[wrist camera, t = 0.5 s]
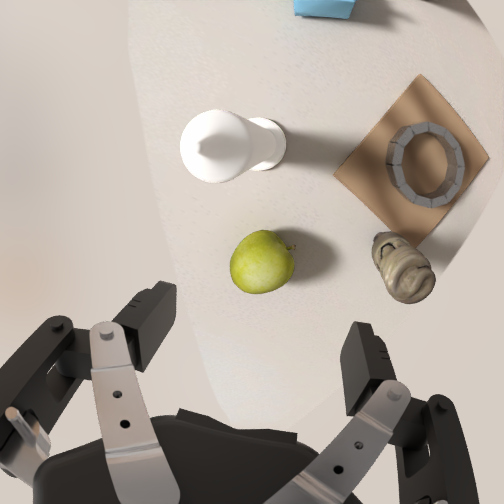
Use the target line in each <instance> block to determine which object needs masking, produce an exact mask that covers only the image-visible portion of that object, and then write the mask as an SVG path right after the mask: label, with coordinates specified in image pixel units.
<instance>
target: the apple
mask: <svg viewBox="0 0 504 504" xmlns="http://www.w3.org/2000/svg"><path fill="white" fill-rule="evenodd" d="M290 249H295V245H292V246H290V247H286V245H285V244H284V242H283V241H282V240H281V239H280V238H279V237H278V236H277V235H276V234H275V233H274V232H272V231H268V230H260V231H256V232H254V233H252V234H250V235H248V236H247V237H246V238H244V239H243V240H242V241H241V243H240V244H239V245H238V246H237V248H236V249H235V251H234V253H233V255H232V257H231V261H230V274H231V277H232V280H233V282H234V284H235V285H237V286H238V288H240V289H241V290H242V291H244V292H247V293H250V294H263V293H267V292H271V291H274V290H276V289H278V288H280V287H282V286H283V285H284V284H285V283H286V282H287V281H288V280H289V279H290V277H291V276H292V274H293V271H294V259H293V257H292V256H291V254H290V253H289V251H288V250H290Z"/></svg>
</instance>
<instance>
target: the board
mask: <svg viewBox="0 0 504 504" xmlns="http://www.w3.org/2000/svg"><path fill="white" fill-rule="evenodd" d="M427 121H428V122H432V123H434V124H437V125H439V126H442V127H444V128H446V129H448V131H449V132H450V133H451V134H452V136H453V137H454V138H455V139H456V141H457V142H458V143H459V144H460V145H459V146H460V147H461V151H462V155H463V159H464V164H465V166H463V167H465V170H464V175H463V180H462V185H461V186H459V187H460V189H459V190H458V192H457V193H456V194H455V196H454V197H453V198H452V199H451V201H450V202H448V203H447V204H444V205H441V206H438V207H435V208H431V209H430V208H427V207H423V206H420V205H416V204H413V203H411V202H410V201H408V200H406V199H405V198H404V197H403V196H402V195H401V194H400V193H399V192H398V191H397V190H396V189H395V188H394V187H393V186H392V184H391V182H390V179H389V175H388V172H387V169H386V165H385V164H387V163H385V160H386V154H387V148H388V143H390V142H389V141H390V140H391V139H392V137H393V136H394V135H395V134H396V133H397V131H398V130H399V129H400V128H401V127H403V126H406V125H410V124H414V123H418V122H427ZM488 158H489V157H488V155H487V154H486V152H485V151H484V149H483V148H482V146H481V145H480V143H479V142H478V141H477V139H476V138H475V136H474V135H473V134H472V132H471V131H470V130H469V128H468V127H467V126H466V124H465V123H464V122H463V121H462V119H461V118H460V117H459V116H458V114H457V113H456V112H455V111H454V109H453V108H452V107H451V106H450V105H449V104H448V102H447V101H446V100H445V99H444V98H443V97H442V96H441V94H440V93H439V92H438V91H437V90H436V89H435V88H434V87H433V86H432V85H431V84H430V83H429V82H428V81H427V80H426V79H425V78H424V77H423V76H422V75H421V74H419V75H418V76H417V77H416V78H415V79H414V80H413V82H412V83H411V84H410V85H409V86H408V88H407V89H406V90H405V91H404V92H403V93H402V95H401V96H400V97H399V98H398V99H397V101H396V102H395V103H394V104H393V105H392V106H391V108H390V109H389V110H388V111H387V112H386V114H385V115H384V116H383V117H382V118H381V119H380V121H379V122H378V123H377V124H376V125H375V126H374V128H373V129H372V130H371V131H370V132H369V133H368V135H367V136H366V137H365V138H364V139H363V141H362V142H361V143H360V144H359V145H358V146H357V148H356V149H355V150H354V151H353V152H352V153H351V154H350V156H349V157H348V158H347V159H346V160H345V161H344V163H343V164H342V165H341V166H340V167H339V168H338V170H337V171H336V172H335V173H334V174H333V176H334V177H336V178H337V179H338V180H339V181H340V182H341V183H342V184H343V185H344V186H346V187H347V188H348V189H349V190H350V191H351V192H352V193H353V194H354V195H355V196H356V197H358V198H359V199H360V200H361V201H362V202H363V203H364V204H365V205H366V206H367V207H368V208H369V209H370V210H371V211H372V212H373V213H374V214H375V215H376V216H377V217H378V218H379V219H380V220H381V221H382V222H383V223H384V224H385V225H386V226H387V227H388V228H389V229H390V230H391V231H392V232H395V233H398V234H400V235H401V236H403V237H404V238H405V239H406V240H407V241H408V242H409V243H410V244H411V246H412V247H414V248H416V247H417V246H418V245H419V244H420V243H421V242H422V241H423V239H424V238H425V237H426V236H427V235H428V234H429V233H430V232H431V230H432V229H433V228H434V227H435V226H436V225H437V223H438V222H439V221H440V220H441V219H442V218H443V216H444V215H445V214H446V213H447V212H448V210H449V209H450V208H451V207H452V205H453V204H454V203H455V202H456V200H457V199H458V198H459V197H460V195H461V194H462V193H463V192H464V190H465V189H466V188H467V186H468V185H469V184H470V182H471V181H472V180H473V178H474V177H475V176H476V174H477V173H478V172H479V170H480V169H481V167H482V166H483V165H484V163H485V162H486V160H487V159H488ZM401 166H402V170H403V174H404V177H405V181H406V183H407V184H408V185H409V187H410V188H411V189H412V190H413V191H414V192H415V193H418V194H421V195H424V194H427V193H430V192H433V191H436V190H437V188H438V187H439V186H440V185H441V183H442V182H443V181H444V180H445V176H446V171H447V166H448V163H447V159H446V155H445V151H444V148H443V147H442V145H441V144H440V143H439V142H438V141H437V139H436V138H435V137H434V136H432V135H429V134H426V133H424V132H423V133H419V134H416V135H414V136H413V137H412V139H411V140H410V141H409V142H408V144H407V145H406V146H405V147H404V152H403V158H402V163H401Z"/></svg>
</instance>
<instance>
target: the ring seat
mask: <svg viewBox="0 0 504 504" xmlns="http://www.w3.org/2000/svg"><path fill="white" fill-rule="evenodd" d="M423 132H424V133H426V134H429V135H432V136H434V137H435V138H436V139H437V141H438V142H439V143H440V144H441V145H442V147H443V148H444V151H445V155H446V159H447V163H448V166H447V171H446V176H445V180H444V181H443V182H442V183H441V185H440V186H439V187H438V188H437V190H436V191H433V192H430V193H427V194H424V195H421V194H418V193H415V192H414V191H413V190H412V189H411V188H410V187H409V185H408V184H407V183H406V181H405V177H404V174H403V170H402V166H401V163H402V158H403V152H404V147H405V146H406V145H407V144H408V142H409V141H410V140H411V139H412V137H413V136H414V135H416V134H419V133H423ZM389 142H390V143H388V148H387V154H386V160H385V163H387V164H385V165H386V169H387V172H388V175H389V179H390V182H391V184H392V186H393V187H394V188H395V189H396V190H397V191H398V192H399V193H400V194H401V195H402V196H403V197H404V198H405V199H406V200H408V201H410V202H411V203H413V204H416V205H420V206H423V207H427V208H430V209H431V208H435V207H438V206H441V205H444V204H447V203H448V202H450V201H451V199H452V198H453V197H454V196H455V194H456V193H457V192H458V190H459V189H460V187H459V186H461V185H462V180H463V175H464V170H465V167H463V166H465V164H464V159H463V155H462V151H461V147H460V146H459V145H460V144H459V143H458V142H457V141H456V139H455V138H454V137H453V136H452V134H451V133H450V132H449V131H448V129H446V128H444V127H442V126H439V125H437V124H434V123H432V122H428V121H427V122H418V123H414V124H410V125H406V126H403V127H401V128H400V129H399V130H398V131H397V133H396V134H395V135H394V136H393V137H392V139H391V140H390V141H389Z"/></svg>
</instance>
